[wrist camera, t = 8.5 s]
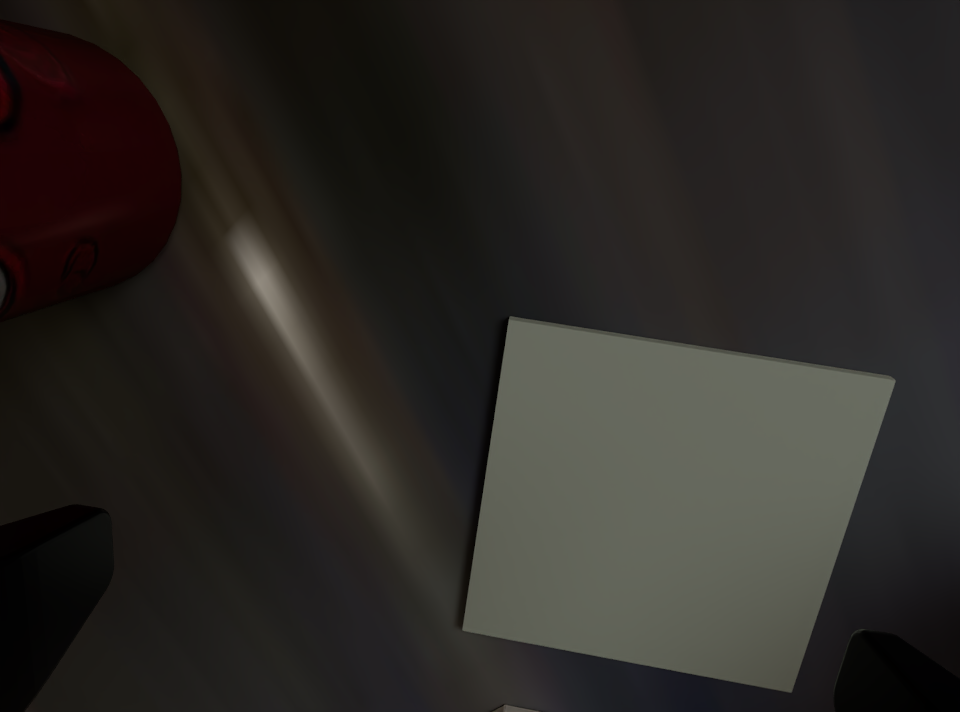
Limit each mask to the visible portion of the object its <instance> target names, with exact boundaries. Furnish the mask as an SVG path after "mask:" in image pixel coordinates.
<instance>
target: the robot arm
mask: <svg viewBox="0 0 960 712" xmlns="http://www.w3.org/2000/svg"><path fill="white" fill-rule="evenodd" d="M113 570H114V556H113V540H112V523H111V517H110V515H109V513H108V512H107V511H106V510H104V509H102V508H96V507H90V506H84V505H78V504H77V505H69V506H65V507H62V508H59V509H55V510H52V511H49V512H45V513H42V514H39V515H35V516H32V517H29V518H25V519H22V520H19V521H15V522H12V523H9V524H5V525H2V526H0V712H25V710H26V709H27V708H28V706H29V705H30V704H31V702H32V701H33V700H34V698H35V697H36V696H37V694H38V693H39V691H40V690H41V688H42V687H43V686H44V684H45V683H46V681H47V680H48V678H49V677H50V675H51V674H52V672H53V671H54V669H55V668H56V666H57V665H58V663H59V661H60V660H61V658H62V657H63V655H64V654H65V652H66V651H67V649H68V648H69V646H70V645H71V643H72V641H73V640H74V638H75V637H76V635H77V634H78V632H79V631H80V629H81V628H82V626H83V625H84V623H85V621H86V620H87V618H88V617H89V615H90V614H91V612H92V611H93V609H94V608H95V606H96V605H97V603H98V601H99V600H100V598H101V597H102V595H103V594H104V592H105V591H106V589H107V587H108V586H109V583H110V581H111V579H112V575H113ZM834 707H835V711H836V712H960V679H959V678H957V677H956V676H955V675H953V674H952V673H950V672H949V671H947V670H946V669H945V668H943V667H942V666H940V665H939V664H937V663H936V662H934V661H933V660H932V659H930V658H929V657H927V656H926V655H924V654H923V653H922V652H920V651H919V650H917V649H916V648H914V647H913V646H911V645H910V644H909V643H907V642H906V641H904V640H903V639H901V638H900V637H898V636H897V635H894V634H891V633H886V632H879V631H873V630H866V629H859V630H857V631H855V632H854V633H853V634H852V635H851V637H850V640H849V642H848V645H847V648H846V651H845V654H844V657H843V661H842V664H841V667H840V670H839V673H838V676H837V679H836V682H835V686H834Z"/></svg>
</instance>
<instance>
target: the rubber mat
mask: <svg viewBox="0 0 960 712" xmlns="http://www.w3.org/2000/svg"><path fill="white" fill-rule="evenodd" d="M895 381H896V380H895V379H893V378H892V377H890V376H887V375H881V374H874V373H868V372H861V371H855V370H849V369H842V368H836V367H830V366H823V365H817V364H810V363H804V362H798V361H791V360H785V359H779V358H772V357H766V356H759V355H753V354H747V353H740V352H734V351H728V350H721V349H715V348H708V347H702V346H696V345H689V344H683V343H677V342H670V341H664V340H657V339H651V338H645V337H638V336H632V335H625V334H619V333H613V332H606V331H600V330H594V329H587V328H581V327H574V326H568V325H562V324H555V323H549V322H543V321H536V320H530V319H523V318H517V317H511V316H510V318H509V322H508V329H507V335H506V342H505V349H504V355H503V362H502V369H501V375H500V382H499V389H498V396H497V402H496V409H495V416H494V422H493V429H492V436H491V442H490V449H489V456H488V462H487V469H486V476H485V482H484V489H483V496H482V503H481V509H480V516H479V523H478V529H477V536H476V543H475V549H474V556H473V563H472V569H471V576H470V583H469V589H468V596H467V603H466V609H465V616H464V623H463V630H462V631H467V632H472V633H477V634H482V635H488V636H493V637H498V638H504V639H509V640H514V641H520V642H525V643H530V644H535V645H541V646H546V647H551V648H557V649H562V650H567V651H573V652H578V653H583V654H588V655H594V656H599V657H604V658H610V659H615V660H620V661H626V662H631V663H636V664H641V665H647V666H652V667H657V668H663V669H668V670H673V671H679V672H684V673H689V674H694V675H700V676H705V677H710V678H716V679H721V680H726V681H732V682H737V683H742V684H747V685H753V686H758V687H763V688H769V689H774V690H779V691H785V692H790V693H792V690H793V687H794V684H795V681H796V678H797V675H798V672H799V669H800V666H801V663H802V660H803V657H804V654H805V651H806V648H807V645H808V642H809V639H810V636H811V633H812V630H813V627H814V624H815V621H816V618H817V615H818V612H819V609H820V606H821V603H822V600H823V597H824V594H825V591H826V588H827V585H828V582H829V579H830V576H831V573H832V570H833V567H834V564H835V561H836V558H837V555H838V552H839V549H840V546H841V543H842V540H843V537H844V534H845V531H846V528H847V525H848V522H849V519H850V516H851V513H852V510H853V507H854V504H855V501H856V498H857V495H858V492H859V489H860V486H861V483H862V480H863V477H864V474H865V471H866V468H867V465H868V462H869V459H870V456H871V453H872V450H873V447H874V444H875V441H876V438H877V435H878V432H879V429H880V426H881V423H882V420H883V417H884V414H885V411H886V408H887V405H888V402H889V399H890V396H891V393H892V390H893V387H894V384H895Z"/></svg>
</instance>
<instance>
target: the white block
mask: <svg viewBox="0 0 960 712" xmlns="http://www.w3.org/2000/svg"><path fill="white" fill-rule="evenodd" d="M493 712H539V711H534V710H529V709H524V708H519V707H514V706H509V705H504V706H502V707H500V708H498V709H496V710H494V711H493Z"/></svg>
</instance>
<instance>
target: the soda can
mask: <svg viewBox="0 0 960 712" xmlns="http://www.w3.org/2000/svg"><path fill="white" fill-rule="evenodd" d="M181 181H182V174H181V168H180V161H179V155H178V149H177V146H176V143H175V140H174V137H173V134H172V131H171V128H170V125H169V123H168V121H167V120H166V118H165V116H164V114H163V112H162V110H161V108H160V106H159V105H158V103H157V101H156V99H155V98H154V97H153V96H152V94H151V93H150V92H149V90H148V89H147V88H146V86H145V85H144V84H143V83H142V81H141V80H140V79H139V78H138V77H137V76H136V75H135V74H134V73H133V72H132V71H131V70H130V69H129V68H128V67H126V66H125V65H124V64H123V63H122V62H121V61H120V60H119V59H117V58H116V57H114V56H113V55H111V54H109V53H108V52H106V51H105V50H103V49H102V48H100V47H98V46H97V45H95V44H93V43H90V42H88V41H85V40H83V39H80V38H78V37H75V36H72V35H70V34H66V33H61V32H57V31H52V30H47V29H43V28H38V27H34V26H29V25H24V24H20V23H15V22H11V21H6V20H1V19H0V322H2V321H6V320H9V319H12V318H15V317H18V316H21V315H24V314H27V313H31V312H34V311H37V310H40V309H43V308H46V307H49V306H52V305H55V304H59V303H62V302H65V301H68V300H71V299H74V298H77V297H80V296H83V295H87V294H90V293H93V292H96V291H99V290H102V289H105V288H108V287H112V286H115V285H117V284H119V283H121V282H123V281H125V280H127V279H129V278H131V277H133V276H135V275H137V274H138V273H139V272H141V271H142V270H143V269H144V268H145V267H147V266H148V265H149V264H150V263H151V262H153V261H154V259H155V258H156V257H157V255H158V254H159V253H160V251H161V250H162V249H163V247H164V246H165V245H166V243H167V241H168V239H169V237H170V234H171V232H172V230H173V228H174V226H175V223H176V219H177V215H178V211H179V206H180V202H181Z"/></svg>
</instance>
